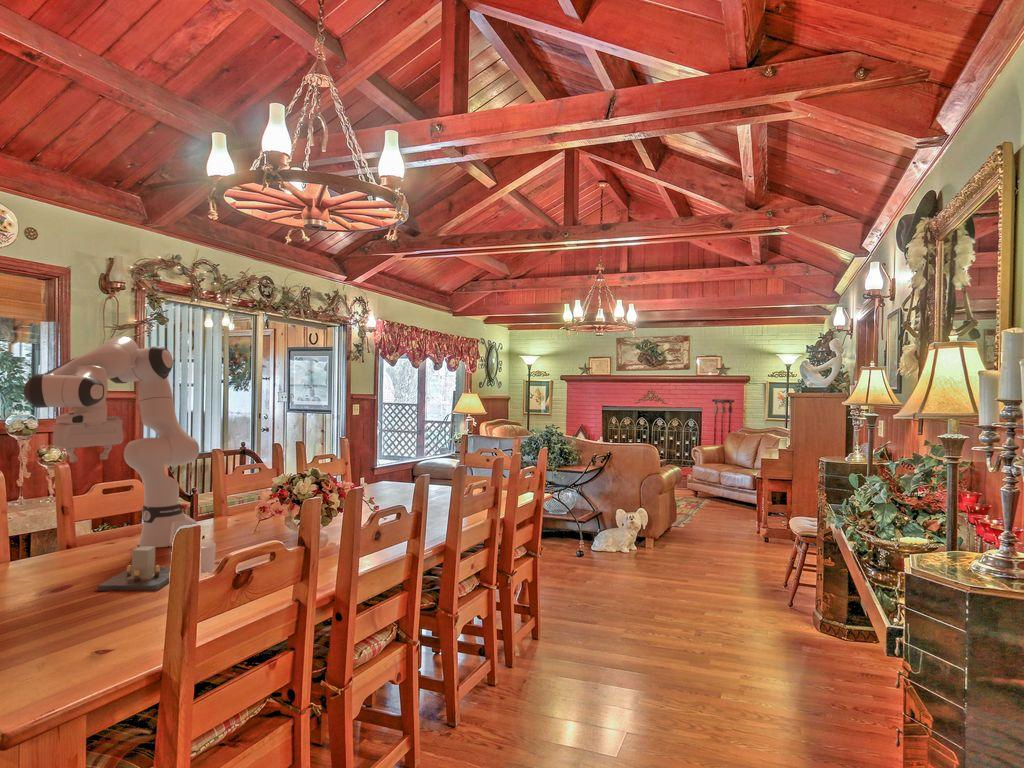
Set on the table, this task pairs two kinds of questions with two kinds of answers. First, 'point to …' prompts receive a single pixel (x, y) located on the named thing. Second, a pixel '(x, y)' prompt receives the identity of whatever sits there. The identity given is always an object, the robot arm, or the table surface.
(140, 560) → the block
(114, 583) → the chassis
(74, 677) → the table surface
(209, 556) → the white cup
